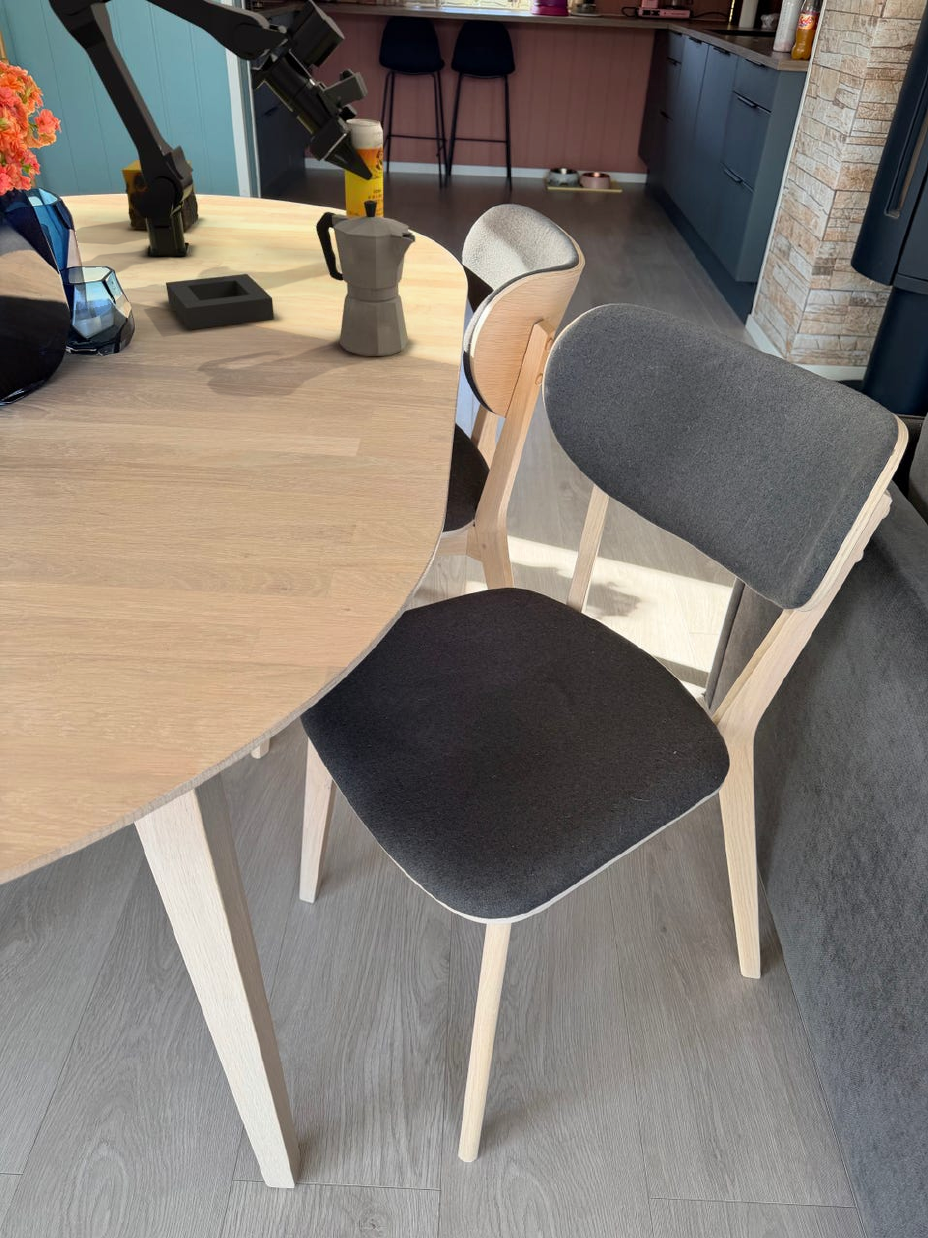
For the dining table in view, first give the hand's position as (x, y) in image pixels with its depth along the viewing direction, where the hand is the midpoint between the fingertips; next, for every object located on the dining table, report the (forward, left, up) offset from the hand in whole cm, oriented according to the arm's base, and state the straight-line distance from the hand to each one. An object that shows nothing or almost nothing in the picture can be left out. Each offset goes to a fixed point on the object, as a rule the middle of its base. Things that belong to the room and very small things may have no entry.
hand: (372, 173), depth 145 cm
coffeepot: (+39, -4, -13) cm, 42 cm away
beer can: (0, -1, -8) cm, 8 cm away
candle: (-24, -36, -13) cm, 45 cm away
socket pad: (+25, -24, -13) cm, 38 cm away
